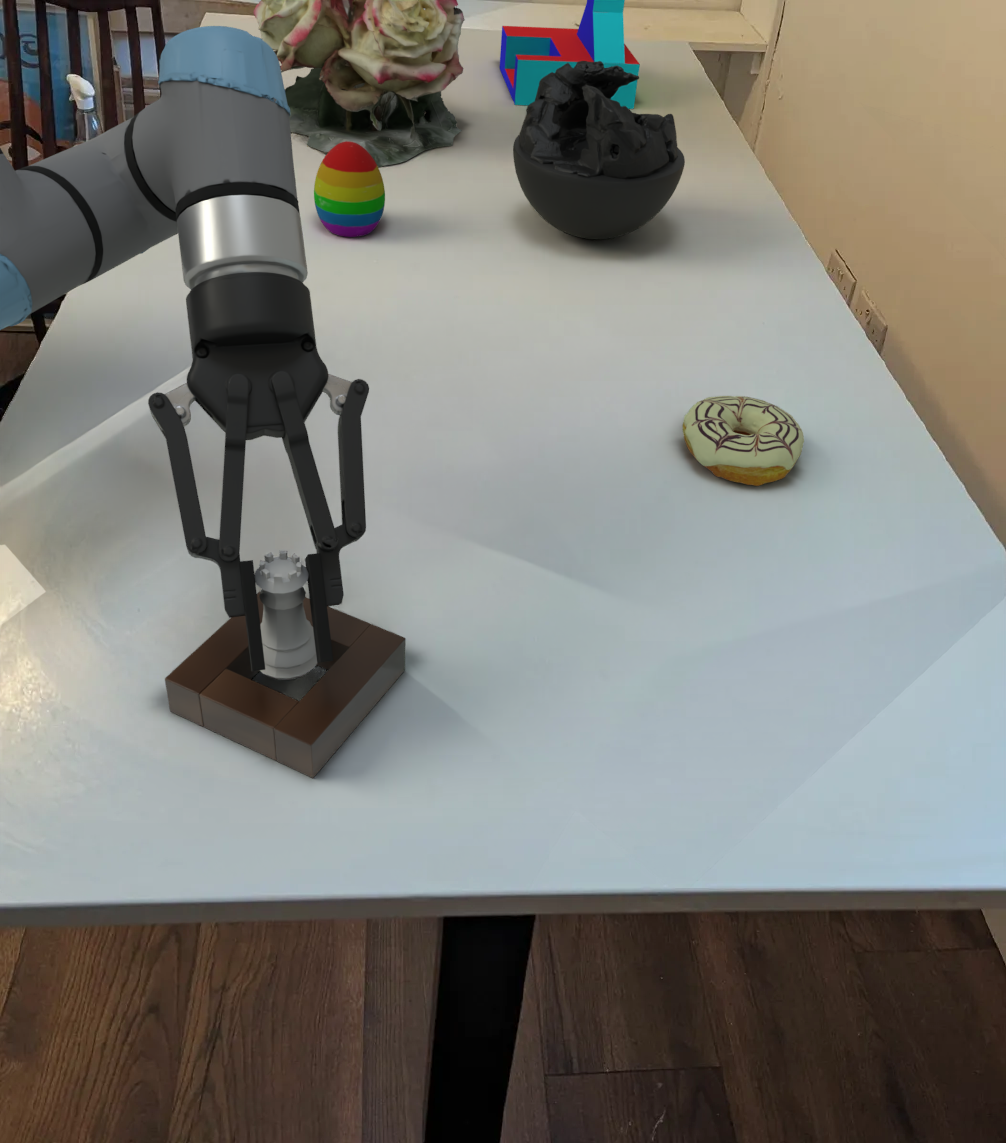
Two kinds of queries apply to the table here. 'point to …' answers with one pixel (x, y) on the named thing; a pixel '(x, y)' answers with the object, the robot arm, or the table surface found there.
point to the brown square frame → (276, 721)
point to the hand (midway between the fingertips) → (292, 665)
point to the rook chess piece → (285, 617)
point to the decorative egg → (349, 191)
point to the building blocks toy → (567, 51)
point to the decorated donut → (743, 438)
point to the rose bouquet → (368, 71)
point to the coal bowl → (594, 154)
